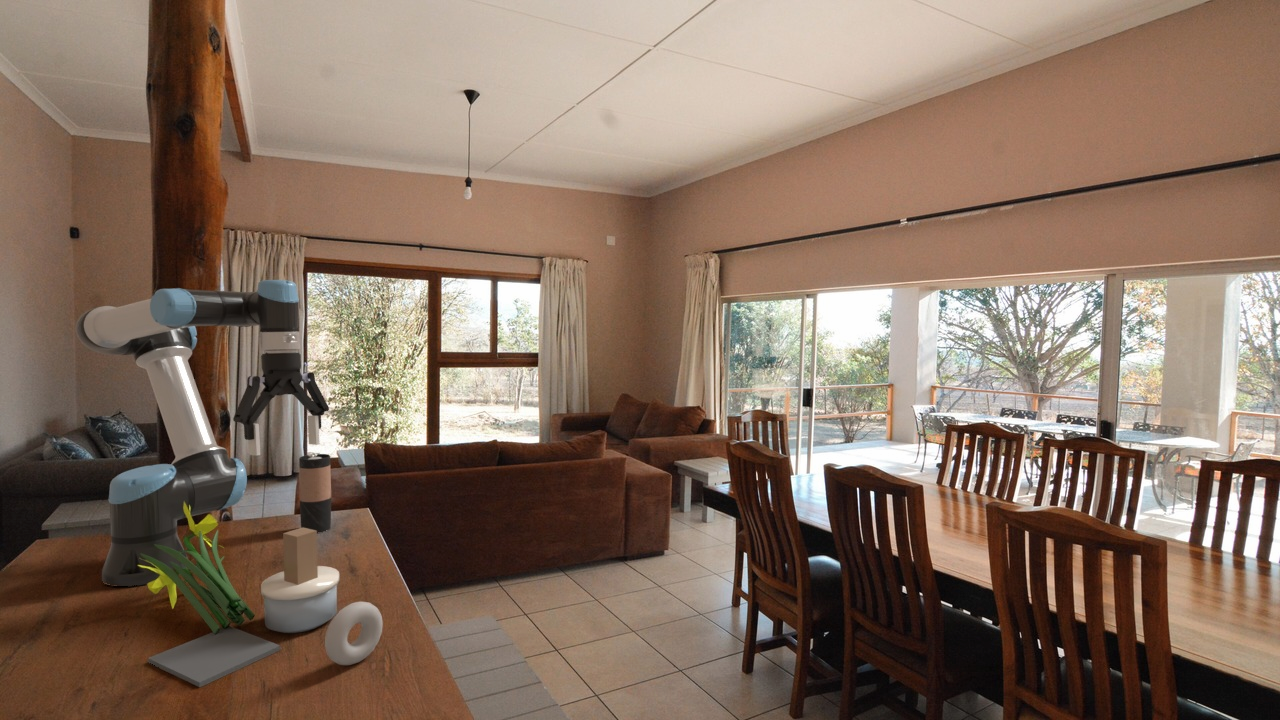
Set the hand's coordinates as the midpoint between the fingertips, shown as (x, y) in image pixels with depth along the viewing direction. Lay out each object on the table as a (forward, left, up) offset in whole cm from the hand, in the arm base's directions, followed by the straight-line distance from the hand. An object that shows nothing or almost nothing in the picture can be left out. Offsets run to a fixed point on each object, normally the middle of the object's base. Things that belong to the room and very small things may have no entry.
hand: (285, 449), depth 141 cm
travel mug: (-24, +24, -29) cm, 45 cm away
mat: (+21, -27, -29) cm, 44 cm away
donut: (+43, -17, -29) cm, 54 cm away
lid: (+22, -12, -22) cm, 33 cm away
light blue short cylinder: (+22, -12, -29) cm, 38 cm away
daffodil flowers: (+1, -17, -28) cm, 33 cm away
